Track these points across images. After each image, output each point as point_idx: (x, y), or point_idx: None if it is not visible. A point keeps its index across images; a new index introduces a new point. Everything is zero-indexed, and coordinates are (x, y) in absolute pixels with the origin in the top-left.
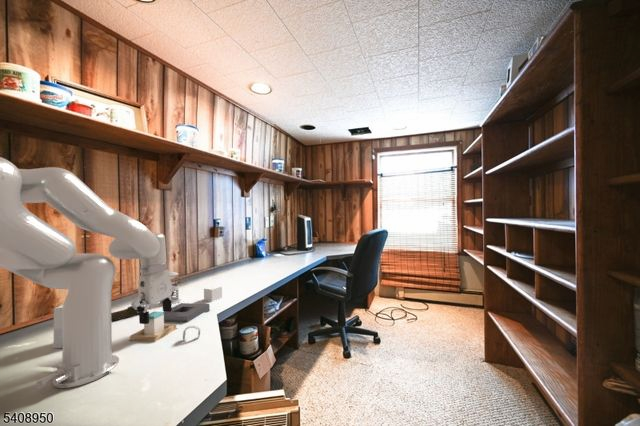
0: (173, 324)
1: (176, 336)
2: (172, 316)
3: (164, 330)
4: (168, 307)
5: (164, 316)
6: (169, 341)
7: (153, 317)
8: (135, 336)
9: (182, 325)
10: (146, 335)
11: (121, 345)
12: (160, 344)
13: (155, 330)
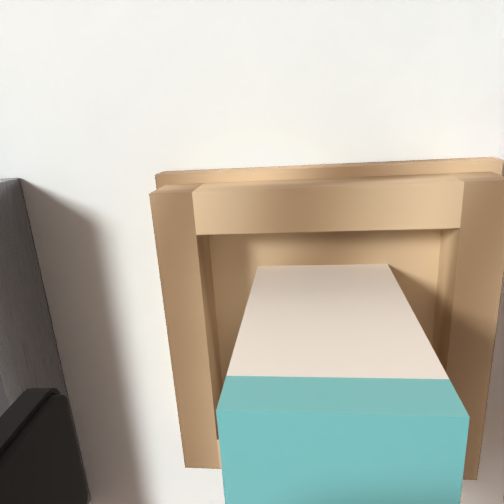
0: (158, 230)
1: (289, 63)
2: (8, 392)
3: (327, 207)
4: (29, 465)
5: None
6: (411, 44)
7: (457, 417)
8: (483, 420)
9: (52, 217)
10: (470, 319)
11: (500, 459)
12: (484, 96)
13: (386, 290)
